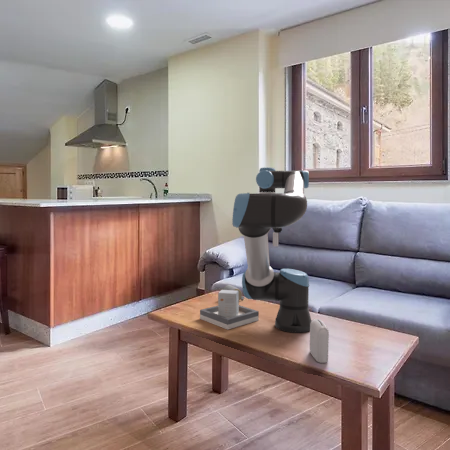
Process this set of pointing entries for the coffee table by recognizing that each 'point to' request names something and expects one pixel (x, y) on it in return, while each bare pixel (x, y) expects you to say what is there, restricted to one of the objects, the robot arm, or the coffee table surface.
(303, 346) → the coffee table surface
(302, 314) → the robot arm
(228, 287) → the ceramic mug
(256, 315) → the square gray-rimmed holder
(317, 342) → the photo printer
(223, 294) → the small box
